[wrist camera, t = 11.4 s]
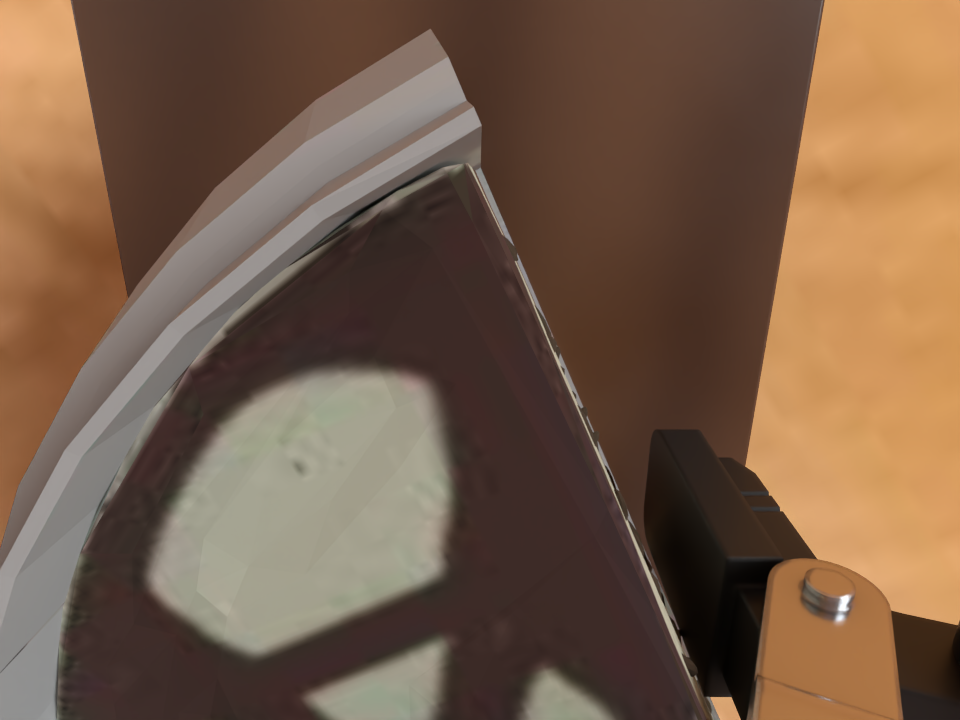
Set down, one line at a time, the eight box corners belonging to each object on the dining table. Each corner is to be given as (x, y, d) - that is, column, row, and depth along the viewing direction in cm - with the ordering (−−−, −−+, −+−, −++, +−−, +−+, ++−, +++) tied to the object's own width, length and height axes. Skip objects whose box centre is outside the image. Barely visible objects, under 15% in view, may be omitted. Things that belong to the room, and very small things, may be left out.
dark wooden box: (641, 28, 24) (834, -46, 11) (606, 444, 31) (706, 703, 18) (279, 26, 24) (58, -52, 11) (318, 444, 31) (205, 707, 17)
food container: (143, 220, 13) (-713, 545, 3) (441, 75, 12) (419, -27, 3) (427, 674, 17) (403, 1384, 8) (660, 585, 16) (949, 1239, 7)
